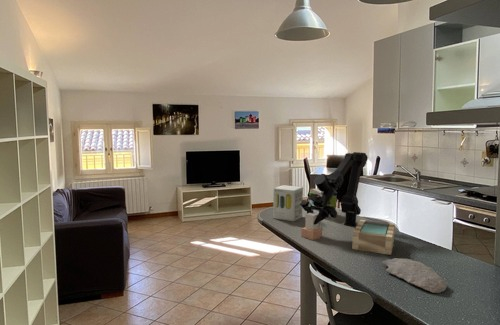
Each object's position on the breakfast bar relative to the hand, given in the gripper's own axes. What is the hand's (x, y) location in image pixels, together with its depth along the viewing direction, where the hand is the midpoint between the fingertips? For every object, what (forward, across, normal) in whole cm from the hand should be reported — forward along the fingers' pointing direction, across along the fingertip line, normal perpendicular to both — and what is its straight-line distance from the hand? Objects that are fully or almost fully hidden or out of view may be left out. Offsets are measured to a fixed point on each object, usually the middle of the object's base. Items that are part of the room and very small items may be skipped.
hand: (310, 223), depth 167 cm
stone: (+10, +52, 0) cm, 53 cm away
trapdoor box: (-6, +25, +16) cm, 30 cm away
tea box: (-24, -23, +34) cm, 47 cm away
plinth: (+4, 0, +6) cm, 7 cm away
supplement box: (-9, -32, +19) cm, 38 cm away
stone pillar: (+1, 0, +3) cm, 3 cm away
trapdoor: (-10, +25, +12) cm, 29 cm away
